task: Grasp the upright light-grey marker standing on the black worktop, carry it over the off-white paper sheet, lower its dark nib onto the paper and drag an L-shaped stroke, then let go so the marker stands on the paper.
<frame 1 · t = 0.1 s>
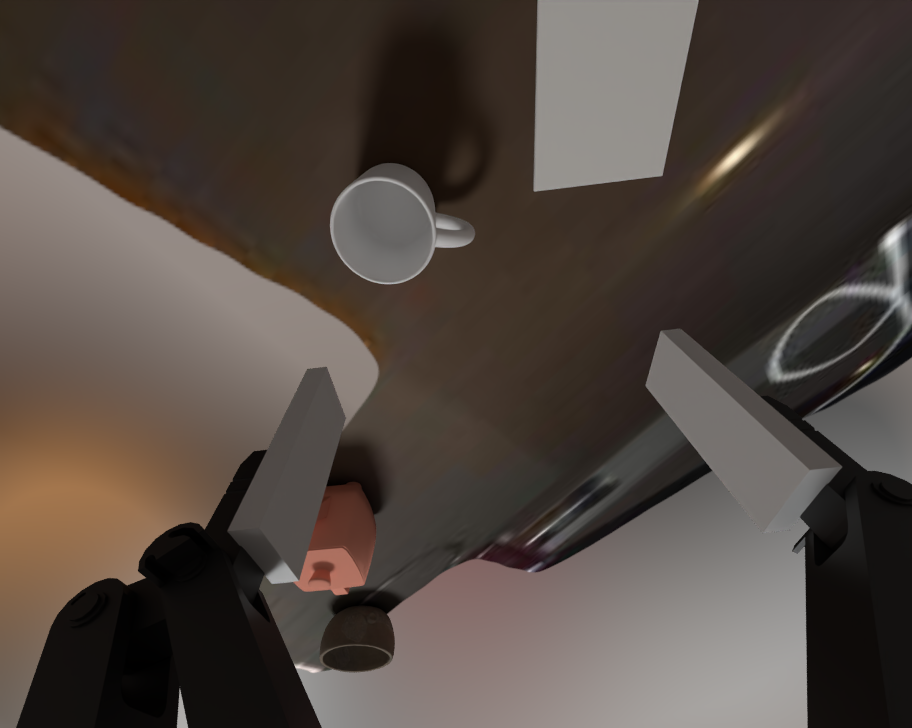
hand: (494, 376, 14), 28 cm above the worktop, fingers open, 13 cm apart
bowl: (363, 611, 91), on the worktop
mug: (413, 210, 37), on the worktop
paper: (607, 90, 32), on the worktop
teapot: (338, 497, 64), on the worktop
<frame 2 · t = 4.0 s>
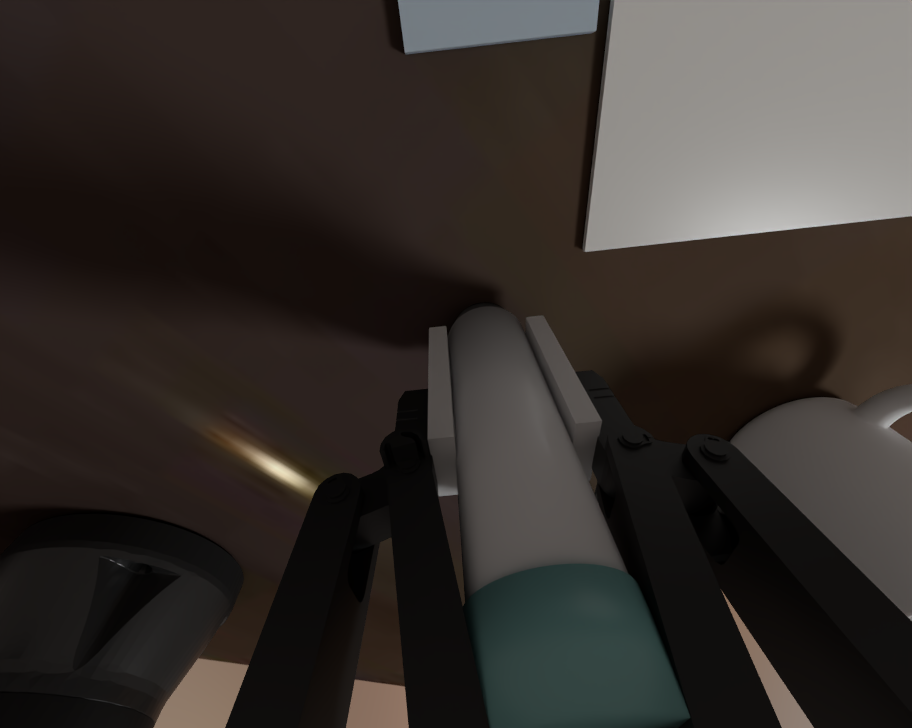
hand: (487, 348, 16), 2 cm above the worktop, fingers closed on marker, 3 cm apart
marker: (483, 330, 17), on the worktop, touching gripper
mug: (800, 417, 23), on the worktop
paper: (833, 26, 12), on the worktop
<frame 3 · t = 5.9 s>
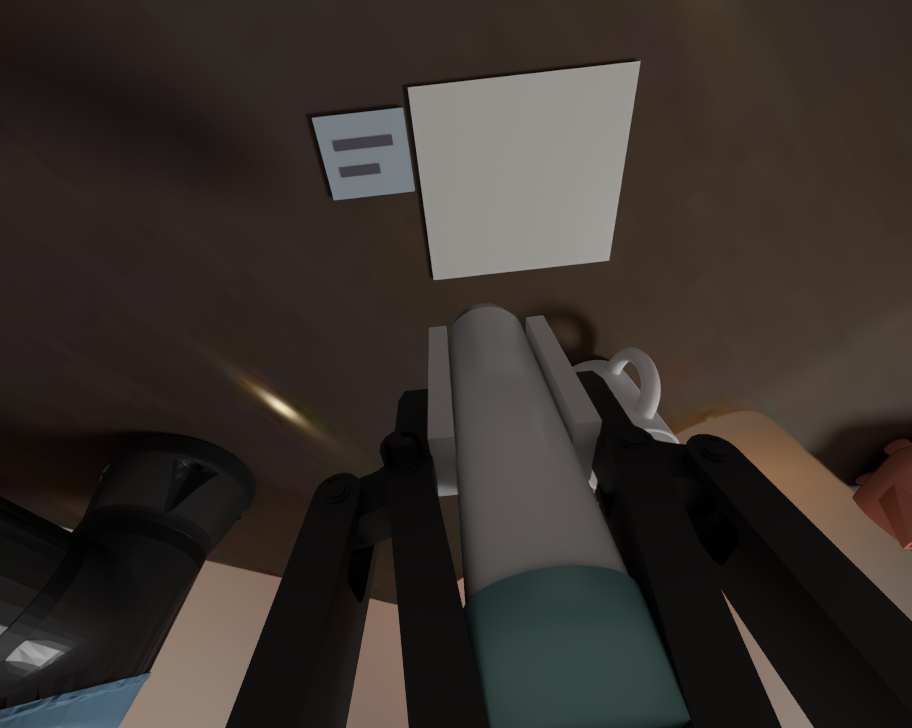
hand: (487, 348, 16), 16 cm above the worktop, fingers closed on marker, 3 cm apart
marker: (483, 331, 17), point 14 cm above the worktop, touching gripper
mug: (593, 373, 38), on the worktop
paper: (521, 185, 27), on the worktop
word card: (367, 156, 25), on the worktop
teapot: (899, 459, 50), on the worktop
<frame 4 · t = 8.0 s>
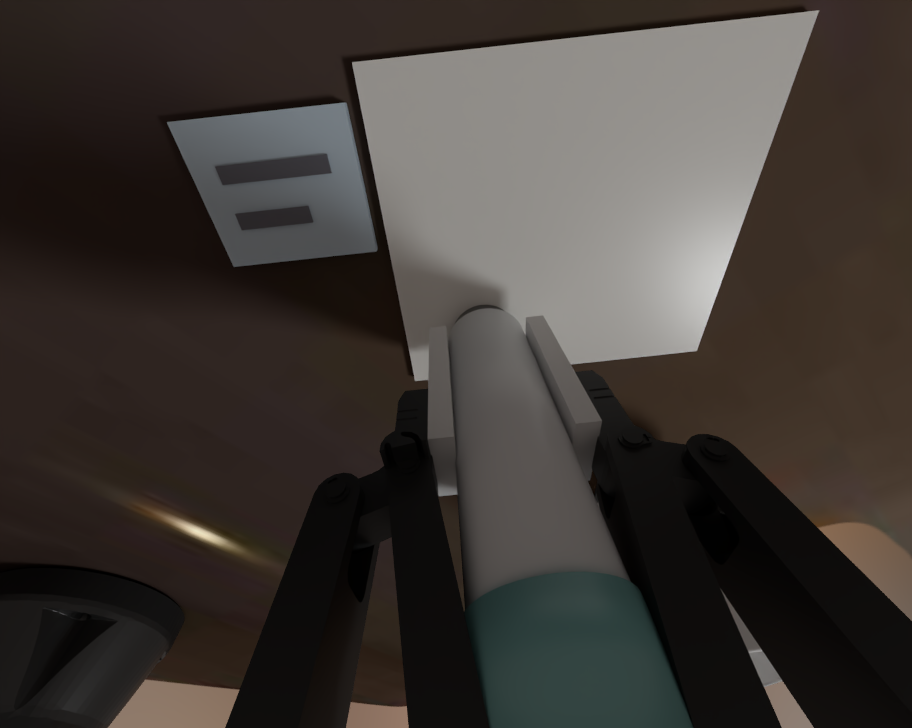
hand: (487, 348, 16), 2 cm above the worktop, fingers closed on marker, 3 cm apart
marker: (483, 332, 17), resting on paper, touching gripper
mug: (648, 486, 26), on the worktop
paper: (564, 240, 15), on the worktop
word card: (286, 191, 14), on the worktop
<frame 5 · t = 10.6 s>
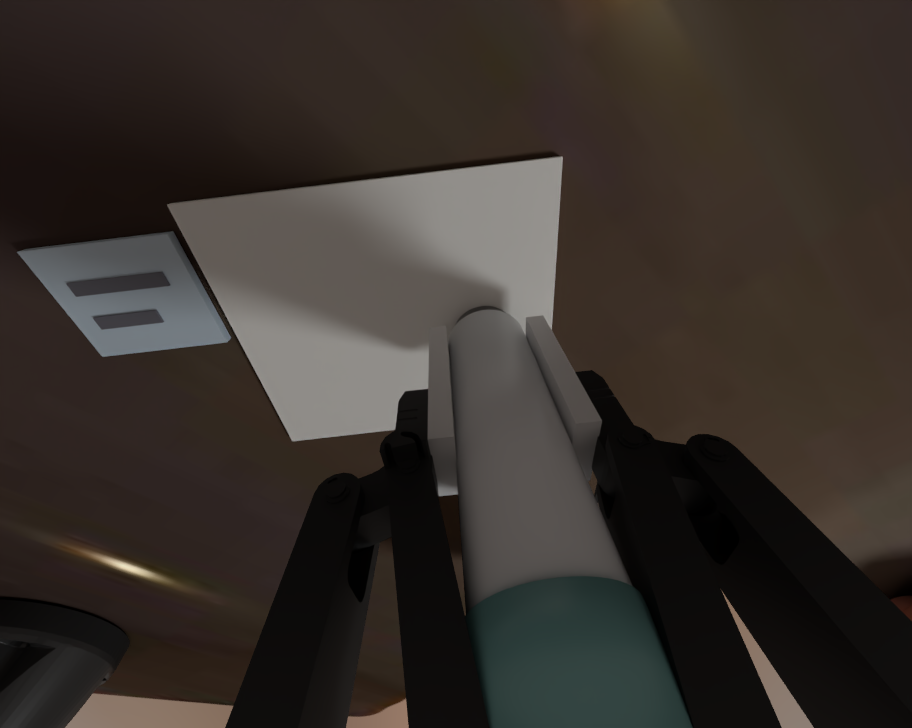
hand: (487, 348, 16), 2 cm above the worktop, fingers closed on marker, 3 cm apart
marker: (483, 333, 17), resting on paper, touching gripper
paper: (397, 327, 17), on the worktop
word card: (137, 297, 16), on the worktop
when the fingers open (2 cm above the worktop, at t = 12.3 s): marker stays where it is, resting on paper.
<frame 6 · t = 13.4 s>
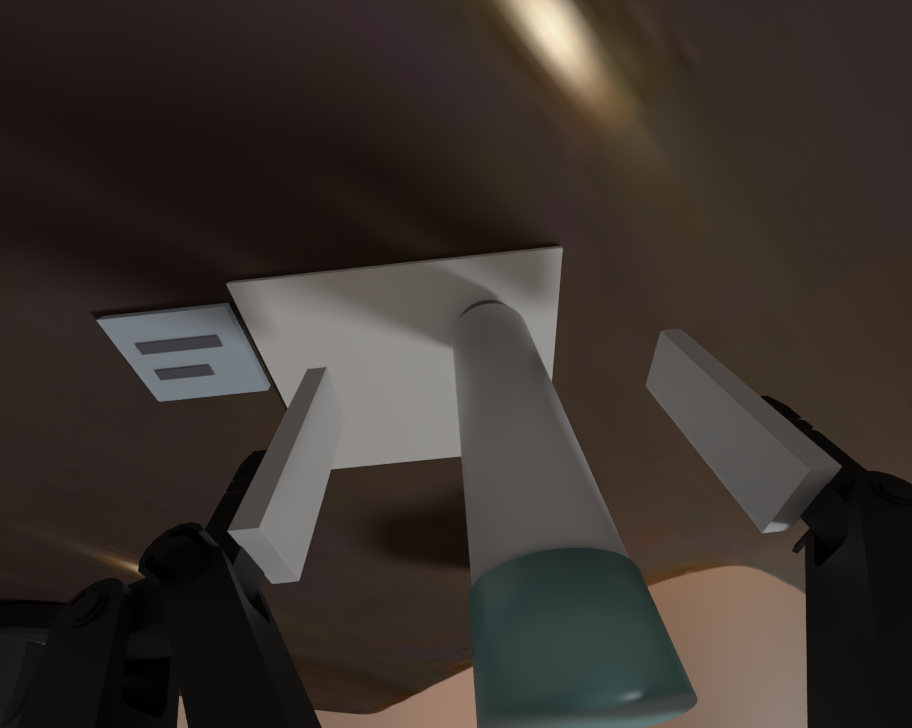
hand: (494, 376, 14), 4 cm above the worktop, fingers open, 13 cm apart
marker: (487, 327, 18), resting on paper
paper: (416, 377, 20), on the worktop
word card: (193, 353, 18), on the worktop
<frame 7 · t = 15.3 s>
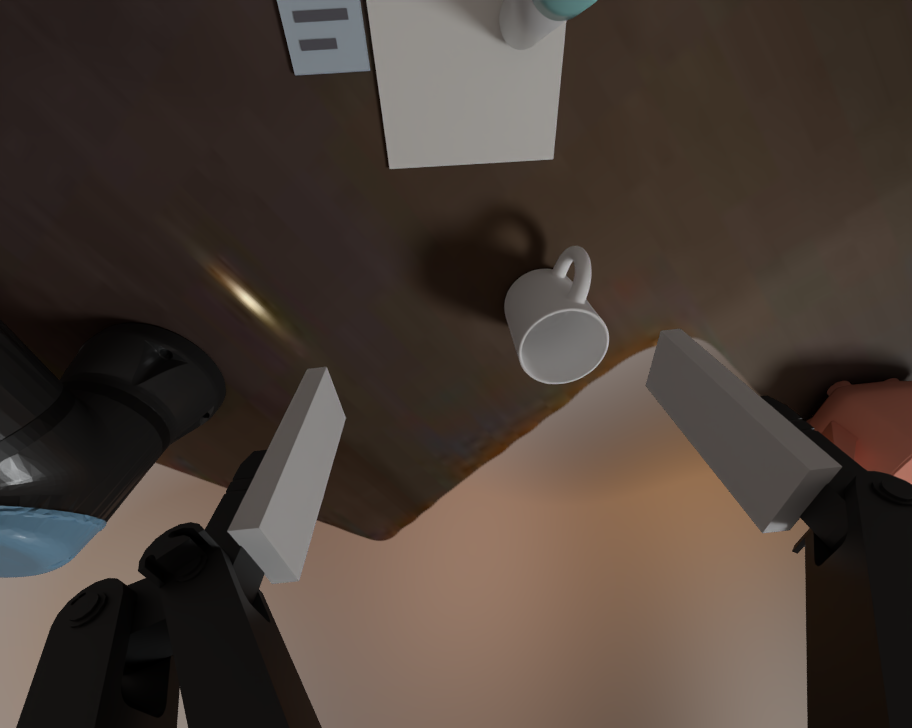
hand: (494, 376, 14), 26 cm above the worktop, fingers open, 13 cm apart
marker: (521, 20, 27), resting on paper
mug: (544, 285, 40), on the worktop
paper: (469, 72, 29), on the worktop
word card: (325, 31, 27), on the worktop
teapot: (843, 404, 52), on the worktop
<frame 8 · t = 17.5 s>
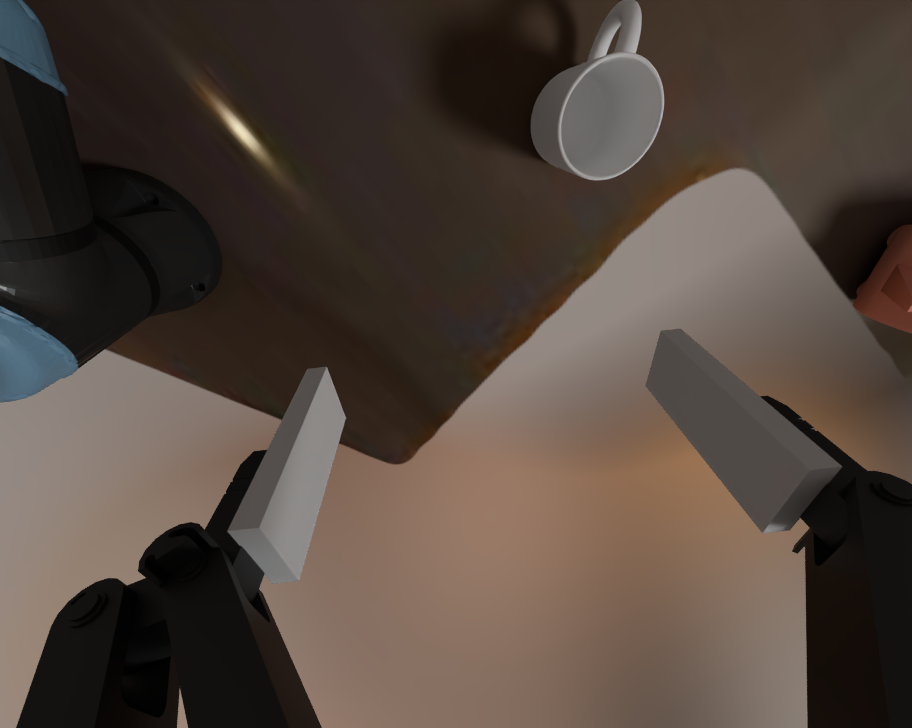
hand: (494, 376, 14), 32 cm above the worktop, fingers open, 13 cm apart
mug: (575, 98, 35), on the worktop
teapot: (903, 259, 47), on the worktop
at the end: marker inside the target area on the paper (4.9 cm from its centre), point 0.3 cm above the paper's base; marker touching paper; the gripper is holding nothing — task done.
